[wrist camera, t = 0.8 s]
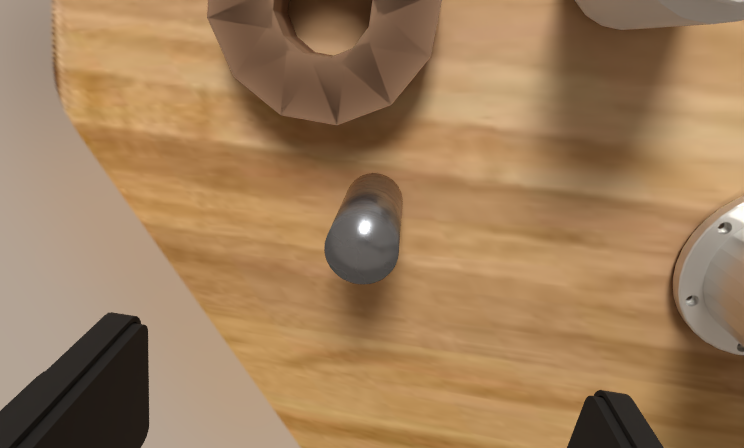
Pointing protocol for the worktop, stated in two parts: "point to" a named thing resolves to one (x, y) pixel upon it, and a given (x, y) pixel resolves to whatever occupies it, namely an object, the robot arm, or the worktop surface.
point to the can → (661, 12)
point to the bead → (324, 57)
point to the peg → (366, 230)
